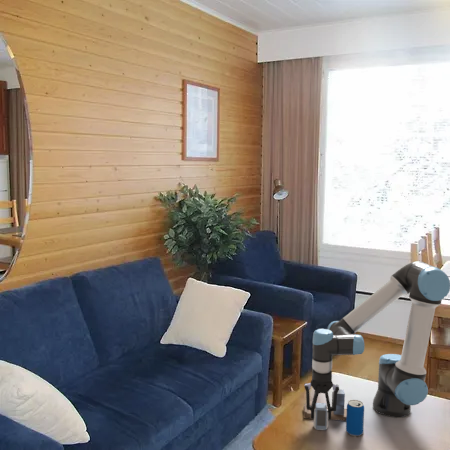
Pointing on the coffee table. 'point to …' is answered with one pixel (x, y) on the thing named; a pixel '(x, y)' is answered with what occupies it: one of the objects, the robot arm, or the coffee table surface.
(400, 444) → the coffee table surface
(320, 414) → the block
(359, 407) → the beverage can
